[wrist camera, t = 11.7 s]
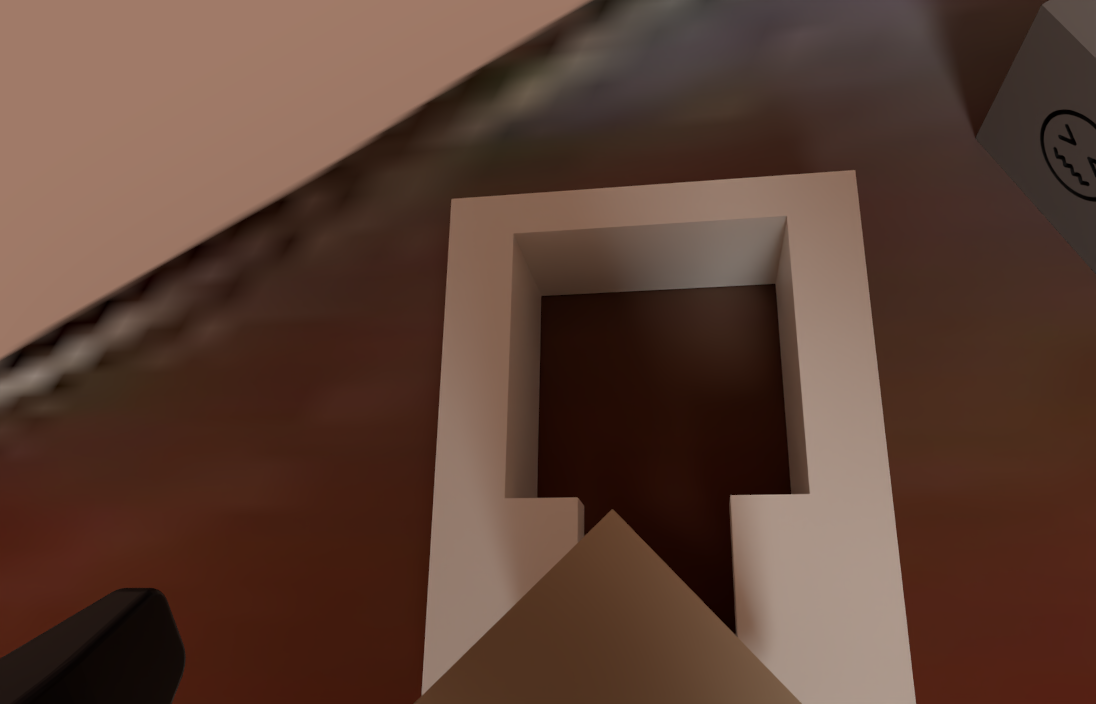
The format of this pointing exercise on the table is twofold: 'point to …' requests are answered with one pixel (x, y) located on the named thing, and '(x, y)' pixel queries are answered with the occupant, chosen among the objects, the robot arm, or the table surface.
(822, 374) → the keyhole block
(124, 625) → the robot arm
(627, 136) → the table surface
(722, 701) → the maple peg
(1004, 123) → the dice cube
